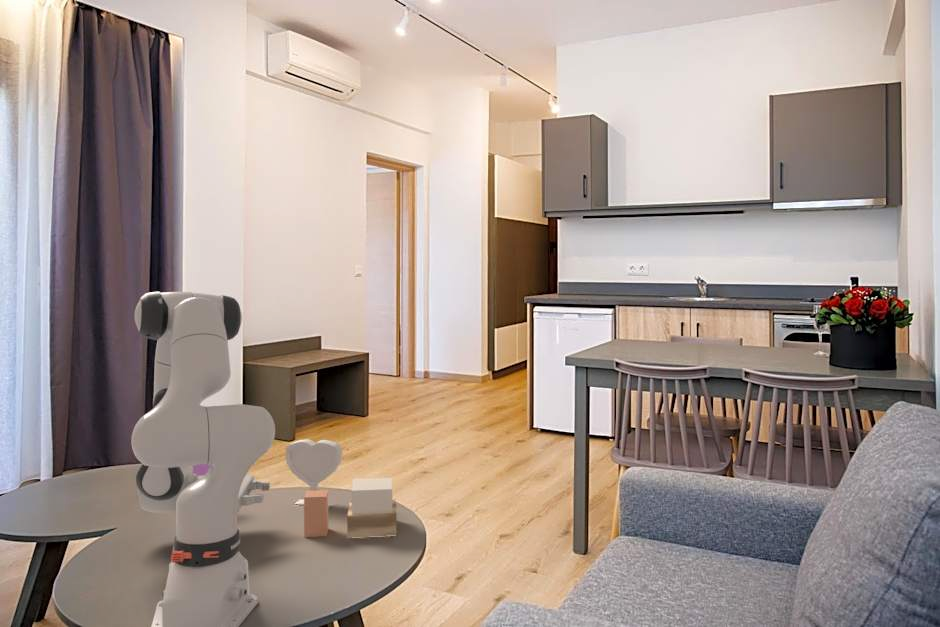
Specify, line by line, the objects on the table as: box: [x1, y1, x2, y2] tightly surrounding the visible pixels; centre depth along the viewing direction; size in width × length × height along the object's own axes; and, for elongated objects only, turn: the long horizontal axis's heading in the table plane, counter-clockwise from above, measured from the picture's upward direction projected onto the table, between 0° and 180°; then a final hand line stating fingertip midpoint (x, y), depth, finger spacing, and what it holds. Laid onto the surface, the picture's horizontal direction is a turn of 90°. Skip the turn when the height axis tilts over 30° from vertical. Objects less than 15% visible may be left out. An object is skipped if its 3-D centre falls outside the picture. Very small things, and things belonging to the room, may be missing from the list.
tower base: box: [346, 498, 397, 539], centre depth 177 cm, size 12×12×6 cm
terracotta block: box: [303, 489, 329, 538], centre depth 174 cm, size 5×5×10 cm
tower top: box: [351, 477, 393, 514], centre depth 177 cm, size 10×10×6 cm
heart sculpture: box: [284, 438, 343, 504], centre depth 198 cm, size 16×5×18 cm, turn 83°
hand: (266, 492), depth 173 cm, fingers open, 8 cm apart
